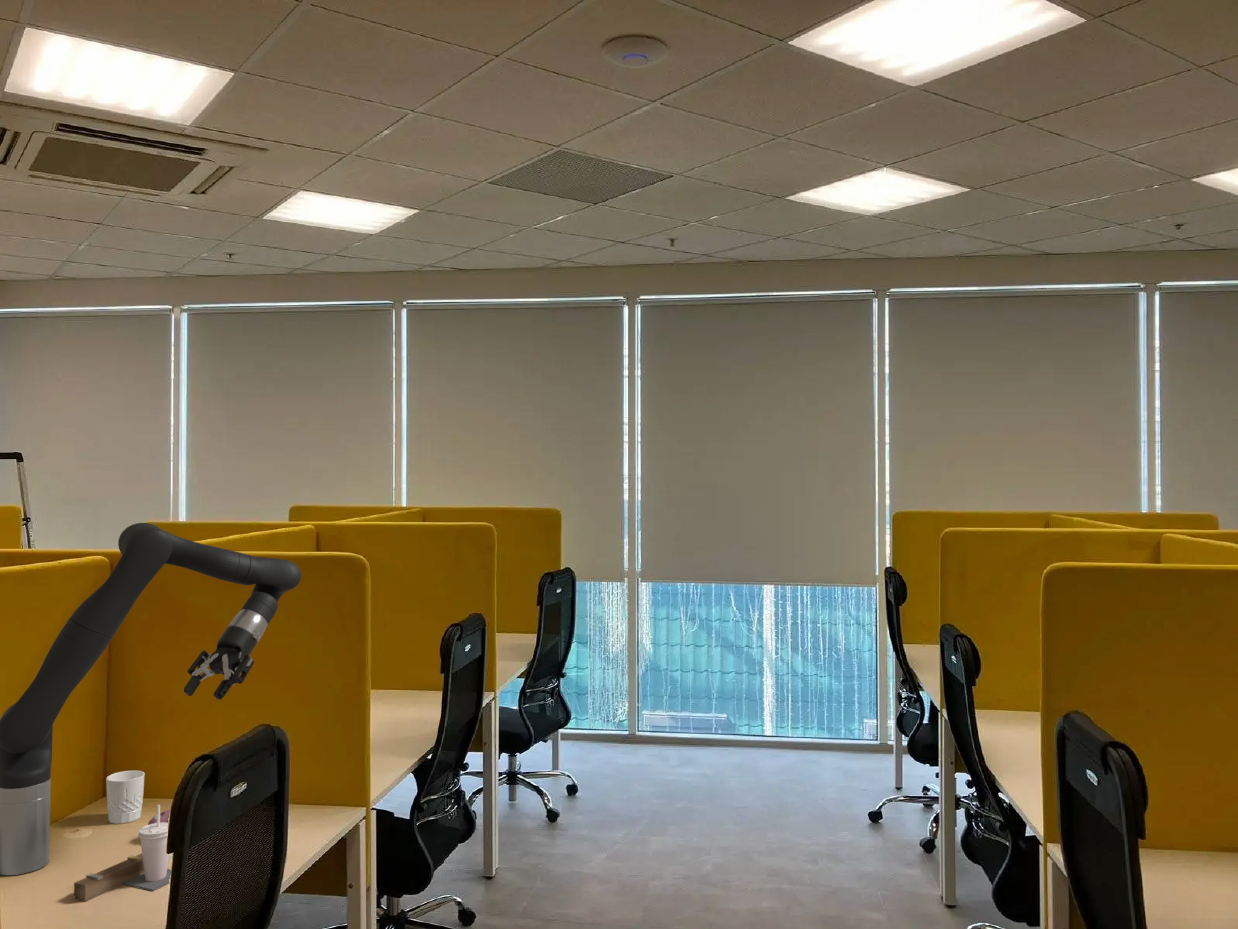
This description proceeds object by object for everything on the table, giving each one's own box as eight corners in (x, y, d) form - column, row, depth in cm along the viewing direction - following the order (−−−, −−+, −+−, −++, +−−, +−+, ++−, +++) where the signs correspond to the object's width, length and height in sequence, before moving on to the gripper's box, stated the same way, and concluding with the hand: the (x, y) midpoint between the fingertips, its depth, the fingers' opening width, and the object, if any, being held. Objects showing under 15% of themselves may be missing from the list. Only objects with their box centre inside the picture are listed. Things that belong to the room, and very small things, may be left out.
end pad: (122, 884, 177) (122, 882, 177) (157, 868, 184) (157, 866, 184) (152, 891, 174) (152, 889, 174) (186, 874, 181) (187, 873, 181)
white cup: (110, 814, 214) (110, 772, 214) (147, 811, 216) (147, 769, 216) (101, 826, 206) (102, 782, 206) (140, 823, 208) (140, 779, 209)
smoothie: (180, 871, 182) (181, 801, 182) (161, 885, 176) (162, 812, 176) (150, 869, 183) (151, 800, 183) (130, 883, 176) (131, 811, 177)
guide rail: (73, 898, 170) (73, 880, 170) (146, 865, 185) (146, 849, 185) (85, 901, 169) (85, 883, 169) (157, 868, 184) (158, 851, 184)
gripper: (210, 622, 206) (167, 683, 195) (258, 626, 200) (217, 689, 190) (227, 642, 211) (187, 702, 200) (275, 646, 205) (236, 708, 194)
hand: (201, 695), depth 195 cm, fingers open, 8 cm apart
